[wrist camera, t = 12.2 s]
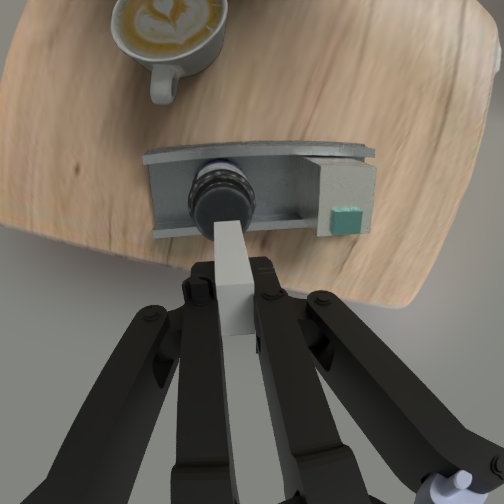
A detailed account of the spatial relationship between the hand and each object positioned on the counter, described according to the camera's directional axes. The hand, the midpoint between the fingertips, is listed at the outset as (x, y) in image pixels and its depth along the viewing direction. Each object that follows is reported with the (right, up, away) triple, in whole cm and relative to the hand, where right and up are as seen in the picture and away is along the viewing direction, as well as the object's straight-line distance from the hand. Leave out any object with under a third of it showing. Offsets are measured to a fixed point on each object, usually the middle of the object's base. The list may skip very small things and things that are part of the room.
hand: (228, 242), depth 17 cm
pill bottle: (-2, +7, +15) cm, 17 cm away
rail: (+3, +8, +16) cm, 18 cm away
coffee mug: (-7, +22, +8) cm, 24 cm away
